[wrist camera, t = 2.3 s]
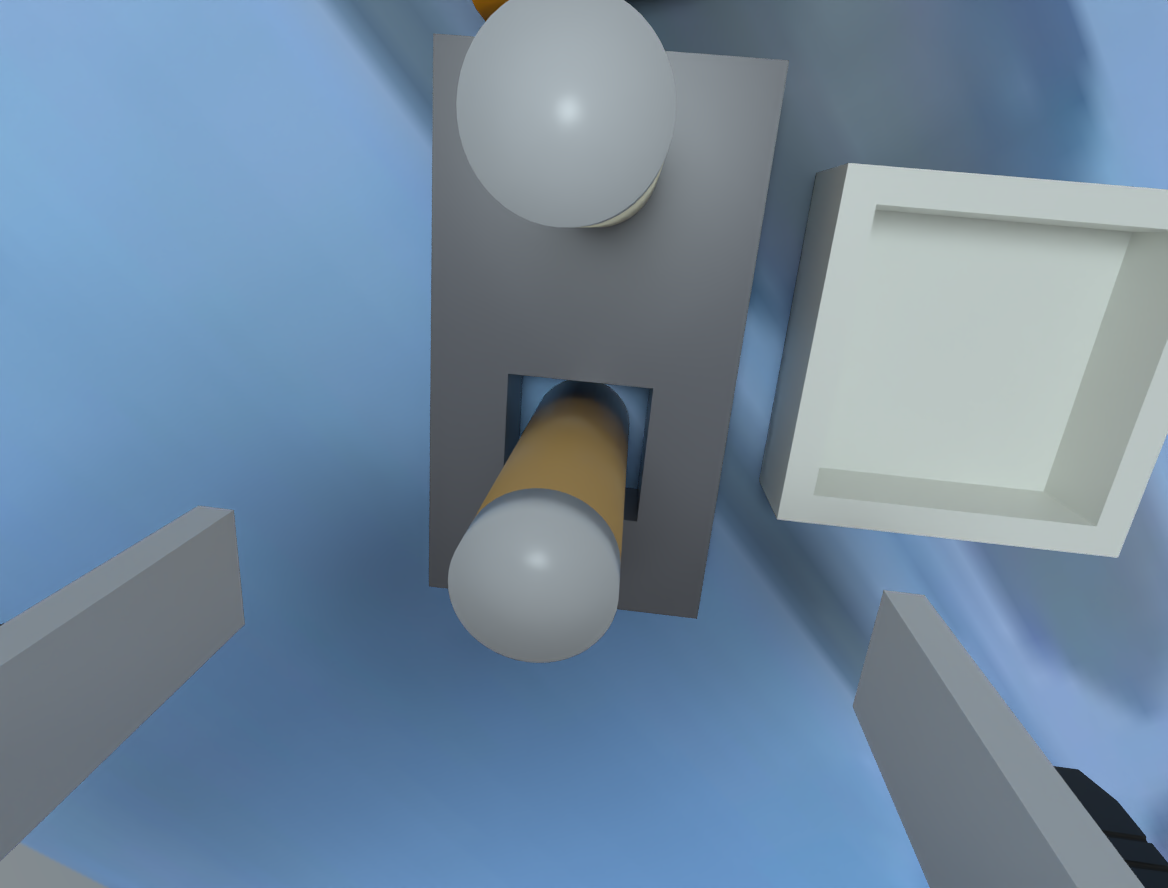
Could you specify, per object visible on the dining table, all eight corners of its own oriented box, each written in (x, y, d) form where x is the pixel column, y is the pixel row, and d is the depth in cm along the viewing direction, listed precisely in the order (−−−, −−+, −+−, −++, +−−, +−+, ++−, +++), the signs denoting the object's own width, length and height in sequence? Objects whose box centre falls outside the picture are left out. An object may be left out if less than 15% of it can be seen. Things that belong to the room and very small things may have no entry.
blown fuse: (533, 462, 26) (446, 651, 14) (538, 373, 24) (449, 501, 13) (624, 472, 25) (609, 672, 14) (634, 383, 24) (627, 521, 13)
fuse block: (690, 576, 26) (728, 838, 15) (451, 548, 27) (313, 781, 16) (768, 83, 21) (923, -92, 9) (460, 59, 21) (253, -134, 10)
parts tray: (759, 480, 25) (777, 519, 22) (816, 173, 21) (848, 162, 18) (1053, 512, 24) (1117, 557, 21) (1162, 202, 21) (1260, 197, 17)
